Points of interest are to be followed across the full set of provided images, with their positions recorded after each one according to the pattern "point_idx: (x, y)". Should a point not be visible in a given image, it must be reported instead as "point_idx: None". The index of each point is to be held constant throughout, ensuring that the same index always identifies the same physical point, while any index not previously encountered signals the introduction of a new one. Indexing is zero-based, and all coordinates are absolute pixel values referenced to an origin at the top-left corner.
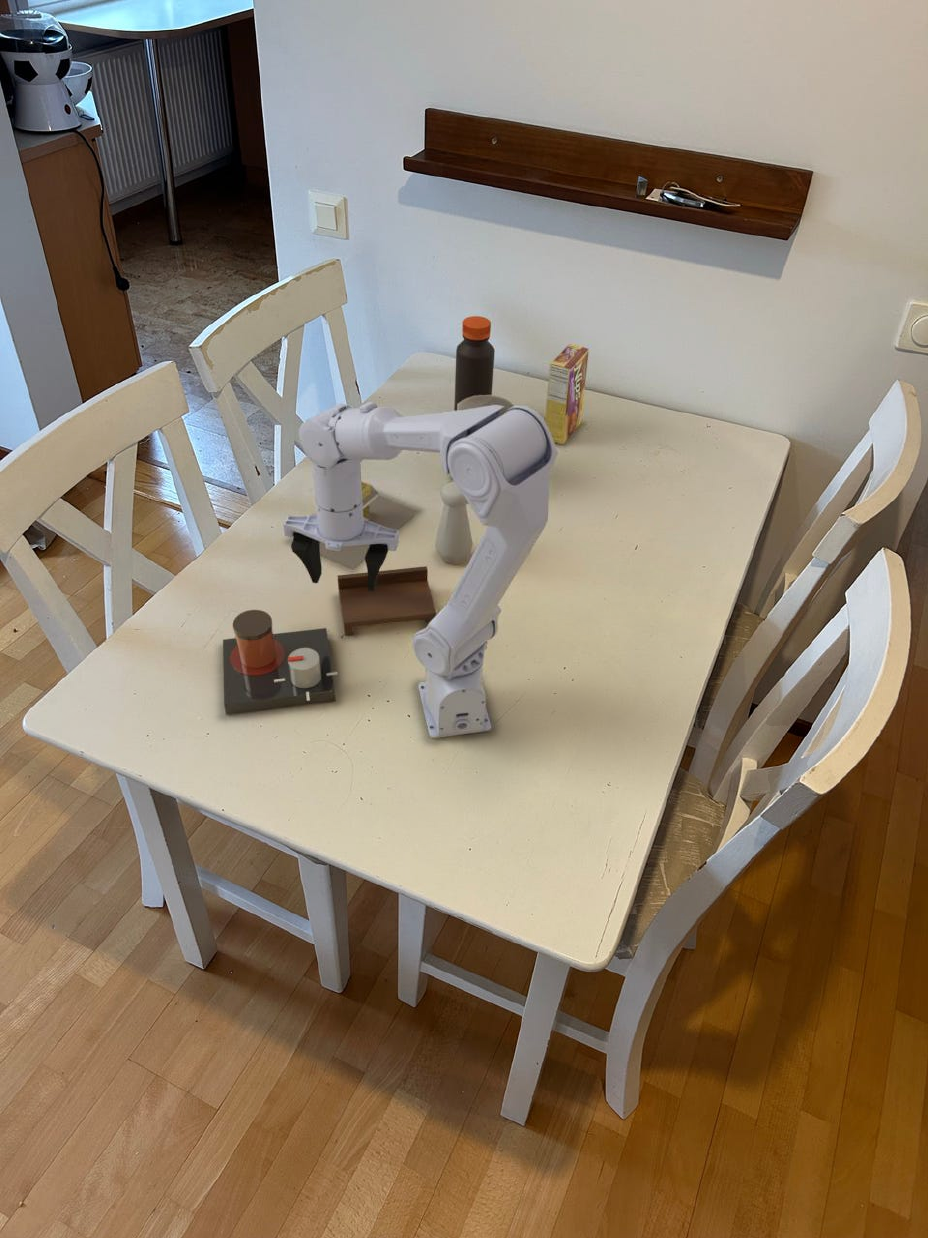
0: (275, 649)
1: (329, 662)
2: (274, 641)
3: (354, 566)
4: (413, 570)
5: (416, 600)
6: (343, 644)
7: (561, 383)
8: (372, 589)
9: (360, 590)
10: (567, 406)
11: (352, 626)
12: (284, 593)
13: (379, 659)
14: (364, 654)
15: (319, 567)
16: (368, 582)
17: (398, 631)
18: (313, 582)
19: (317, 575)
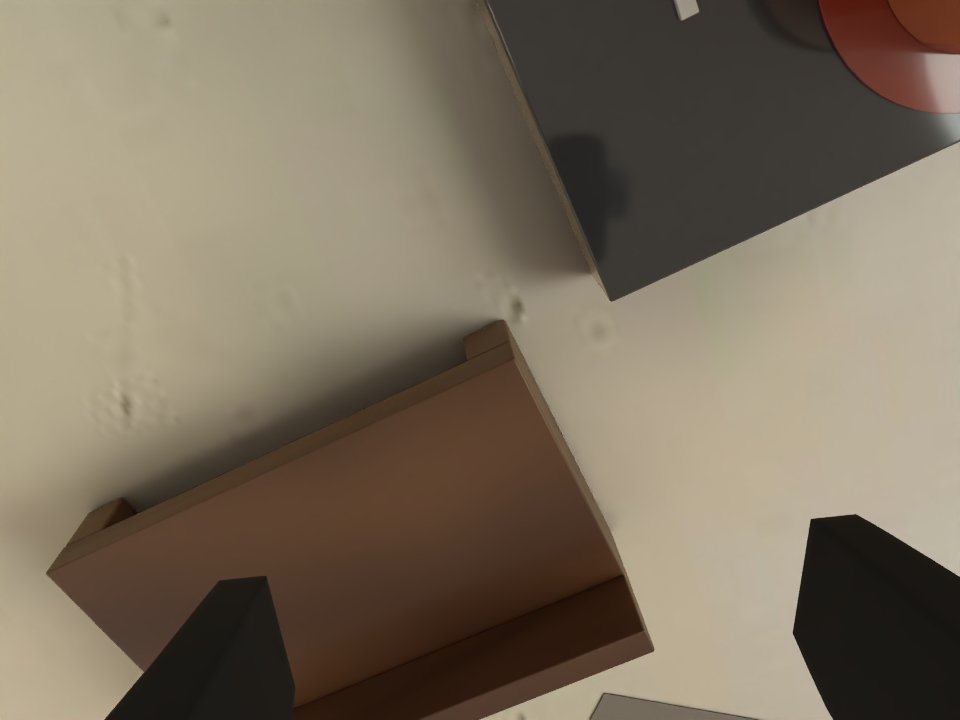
0: (887, 16)
1: (495, 1)
2: (904, 91)
3: (601, 708)
4: None
5: None
6: (491, 258)
7: None
8: (207, 597)
9: (509, 597)
10: None
11: (469, 363)
12: (874, 493)
13: (252, 204)
14: (350, 218)
15: (858, 700)
16: (205, 671)
17: (249, 426)
18: (854, 517)
19: (852, 601)
